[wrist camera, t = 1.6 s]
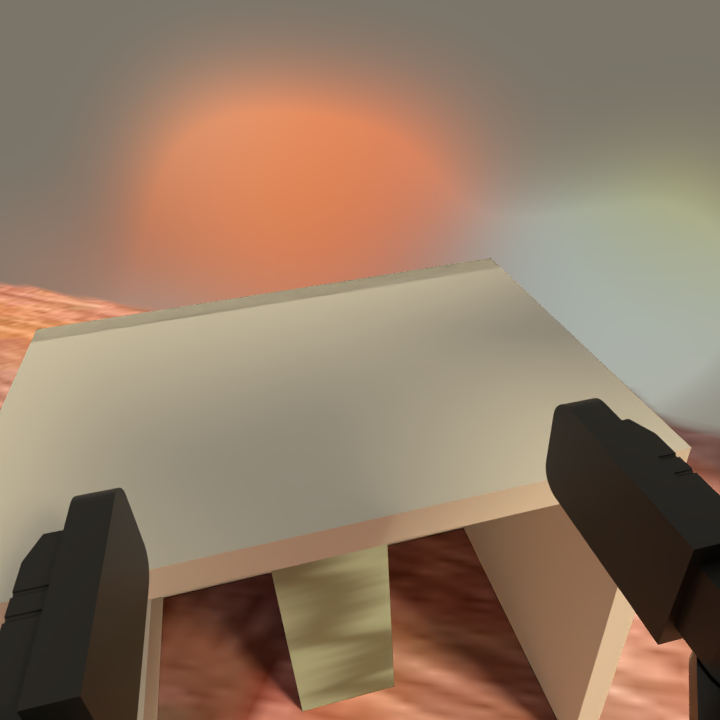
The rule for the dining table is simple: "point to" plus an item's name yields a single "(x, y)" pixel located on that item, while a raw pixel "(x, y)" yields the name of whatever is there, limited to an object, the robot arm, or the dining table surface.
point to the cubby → (328, 447)
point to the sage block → (338, 625)
